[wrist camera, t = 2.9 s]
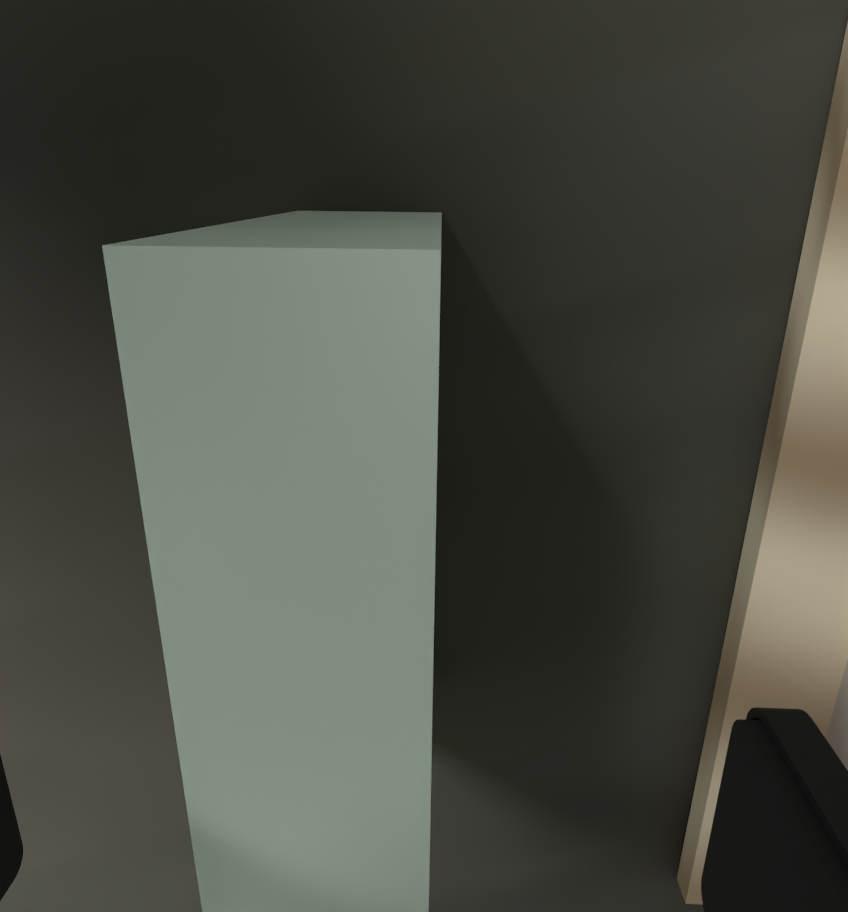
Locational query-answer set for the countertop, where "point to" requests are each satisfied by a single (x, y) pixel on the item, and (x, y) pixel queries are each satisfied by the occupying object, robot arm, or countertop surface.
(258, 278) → the door panel
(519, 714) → the countertop surface
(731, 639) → the door track
